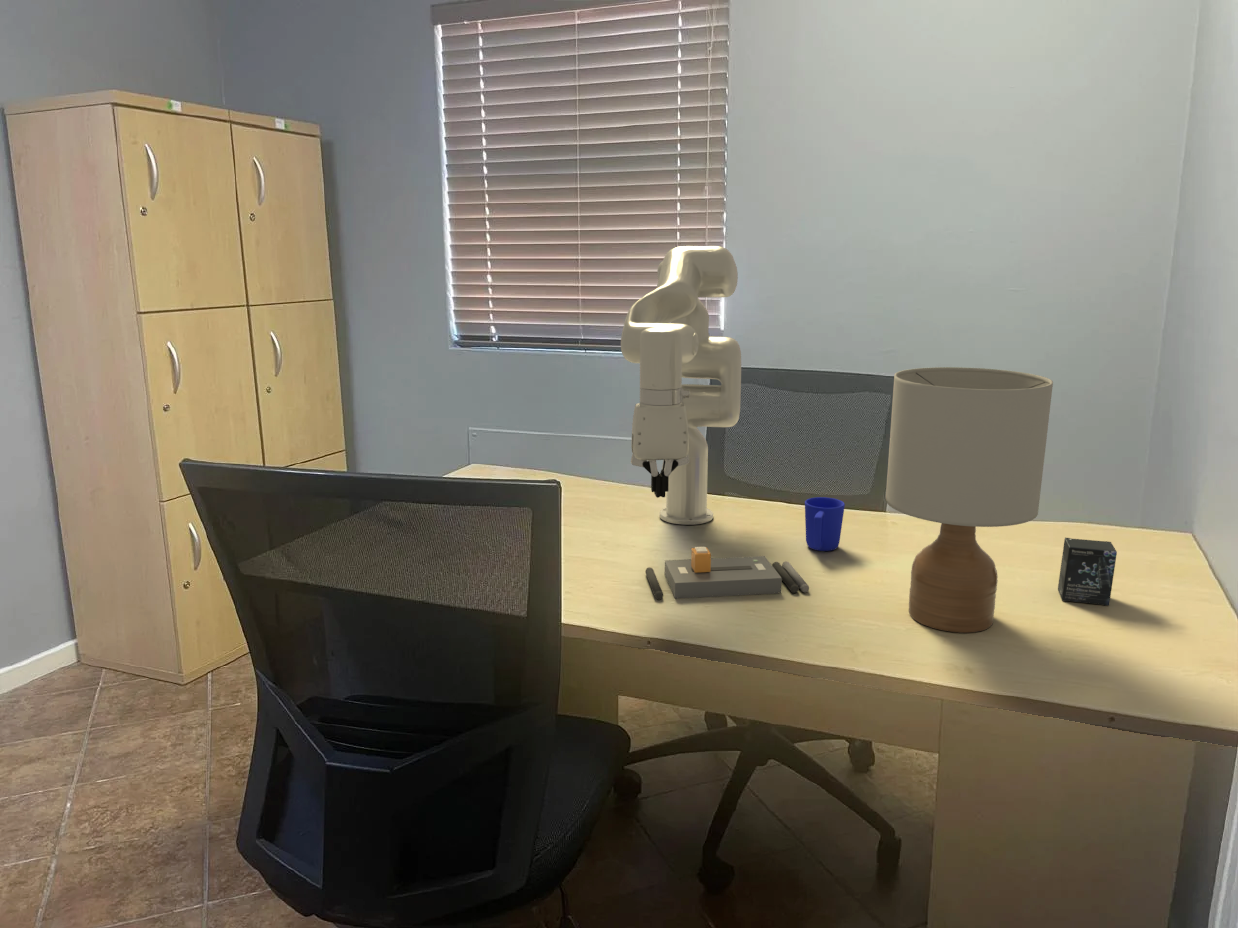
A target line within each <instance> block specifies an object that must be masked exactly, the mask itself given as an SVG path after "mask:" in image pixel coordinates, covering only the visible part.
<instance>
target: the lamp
mask: <svg viewBox="0 0 1238 928" xmlns="http://www.w3.org/2000/svg"><path fill="white" fill-rule="evenodd" d="M893 378H894V379H893V388H892V389H893V390H892V391H893V392H892V403H891V405H892V406H891V416H890V417H891V420H890V431H889V433H890V434H889V435H890V436H889V446H888V447H889V448H888V463H887V476H886V487H885V488H886V489H885V490H886V491H885V503H886V504H887V505H888V506H889V507H890V508H892V509H893V510H895V511H897V512H899V513H901V514H905V515H907V516H910V517H913V518H917V519H919V520H923V521H924V520H925V521H927V522H932V523H933V522H934V523H938V524H940V526H939V527H940V528H939V534H938V536H937V538H935V540H934V541H933V542H932V543H929V544H928V545H927V546H925V547H923V548H922V550H920V551H919V552H918V553H916V554H915V556H914V559H913V562H912V564H911V571H910V588H909V594H908V595H909V596H908V597H909V598H908V613H909V615H910V616H911V618H912V619H913V620H915V621H916V622H917V623H919V624H920V625H923V626H926V627H929V628H931V629H935V630H938V631H944V632H951V633H959V634H960V633H965V634H967V633H968V634H969V633H970V634H971V633H977V632H982V631H985V630H988V629H990V628H991V627H992V626H993V623H994V621H995V620H994V615H995V608H996V607H995V606H996V596H997V590H998V589H997V588H998V582H999V581H998V577H999V576H998V570H997V568H996V564H995V561H994V559H992V557H991V556H990V555H989V554H988V553H987V552H986V551H985V550H984V549H983V548H982V547H981V546H980V544H979V543H978V540H977V535H976V531H977V528H979V527H980V528H995V527H996V528H998V527H1009V526H1017V525H1021V524H1026V523H1029V522H1031V521H1033V520H1034V519H1036V517H1038V515H1039V510H1040V509H1039V507H1040V499H1041V490H1042V482H1043V475H1044V474H1043V472H1044V463H1045V456H1046V446H1047V438H1048V430H1049V429H1048V428H1049V423H1050V422H1049V421H1050V413H1051V412H1050V411H1051V405H1052V404H1051V403H1052V394H1053V386H1054V381H1053V380H1052V379H1050V378H1048V377H1046V376H1041V375H1037V374H1035V373H1028V372H1022V371H1015V370H1009V369H1008V370H1007V369H996V368H995V369H994V368H984V367H983V368H981V367H978V368H977V367H962V366H961V367H959V366H957V367H956V366H954V367H953V366H949V367H947V366H946V367H945V366H944V367H943V366H942V367H939V366H938V367H936V366H935V367H933V366H932V367H921V368H920V367H918V368H910V369H903V370H900V371H897V372H895V373H894V377H893ZM976 527H977V528H976Z"/></svg>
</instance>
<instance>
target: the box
mask: <svg viewBox="0 0 1238 928" xmlns="http://www.w3.org/2000/svg"><path fill="white" fill-rule="evenodd" d="M1063 541H1064V542H1063V548H1062V549H1063V550H1062V556H1061V563H1060V570H1059V571H1060V572H1059V577H1058V585H1057V591H1058V594H1059V597H1060V599H1061V601H1063V602H1073V603H1084V604H1092V605H1102V606H1107V607H1108V606H1110V602H1111V595H1112V589H1113V588H1112V587H1113V582H1114V576H1115V567H1116V560H1117V554H1118V551H1117V549H1116V548H1115V546H1114V545H1113V543H1112V541H1108V540H1107V541H1105V540H1094V539H1093V540H1092V539H1080V538H1071V537H1064V540H1063Z"/></svg>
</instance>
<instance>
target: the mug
mask: <svg viewBox="0 0 1238 928" xmlns="http://www.w3.org/2000/svg"><path fill="white" fill-rule="evenodd" d="M845 505H846V504H845V502H844V501H842V500H840V499H838V498H833V497H823V496H822V497H821V496H819V497H818V496H817V497H815V496H814V497H810V498H807V499H806V500H804V514H805V515H804V517H805V519H804V520H805V521H804V523H805V542H806V545H807V546H808V547H809V549H812V550H814V551H818V552H819V551H820V552H831V551H834V550H836V549H837V548H838V547H839V546H840V540H841V534H842V528H843V527H842V526H843V521H844V520H843V519H844V512H845Z"/></svg>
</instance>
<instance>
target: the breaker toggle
mask: <svg viewBox="0 0 1238 928" xmlns="http://www.w3.org/2000/svg"><path fill="white" fill-rule="evenodd" d="M690 557H691V558H690V559H691V566H692V568H693V570H694V572H695V573H698V572H711V557H712V553H711V552H710V549H708V547H706V546H694V547H691V556H690Z"/></svg>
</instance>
